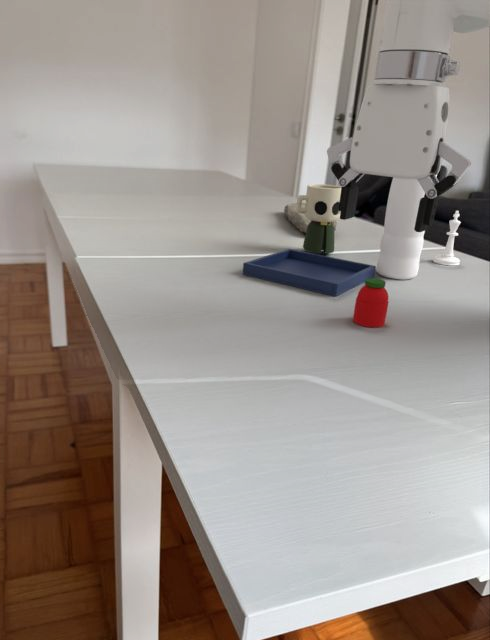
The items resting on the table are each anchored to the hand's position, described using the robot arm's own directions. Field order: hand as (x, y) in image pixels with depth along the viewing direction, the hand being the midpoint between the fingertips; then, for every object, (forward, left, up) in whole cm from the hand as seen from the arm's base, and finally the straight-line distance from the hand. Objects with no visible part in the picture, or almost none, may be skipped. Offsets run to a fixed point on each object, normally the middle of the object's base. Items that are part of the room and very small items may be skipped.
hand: (382, 224), depth 69 cm
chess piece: (+2, -44, -13) cm, 46 cm away
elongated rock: (+40, -58, -13) cm, 72 cm away
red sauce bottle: (0, 0, -13) cm, 13 cm away
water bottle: (+6, -27, -13) cm, 31 cm away
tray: (+17, -15, -13) cm, 26 cm away
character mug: (+24, -32, -13) cm, 42 cm away
